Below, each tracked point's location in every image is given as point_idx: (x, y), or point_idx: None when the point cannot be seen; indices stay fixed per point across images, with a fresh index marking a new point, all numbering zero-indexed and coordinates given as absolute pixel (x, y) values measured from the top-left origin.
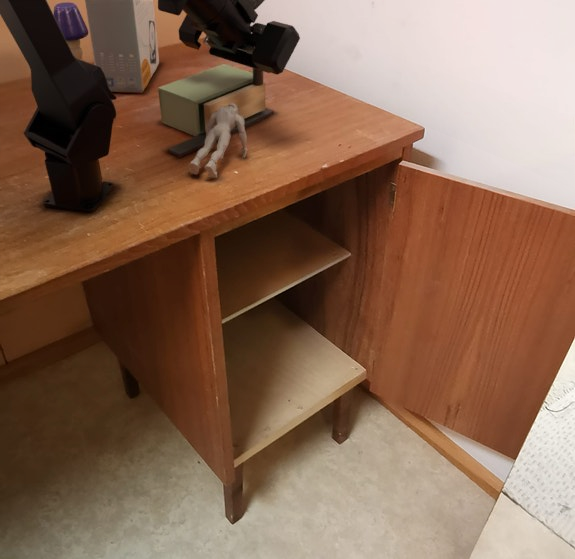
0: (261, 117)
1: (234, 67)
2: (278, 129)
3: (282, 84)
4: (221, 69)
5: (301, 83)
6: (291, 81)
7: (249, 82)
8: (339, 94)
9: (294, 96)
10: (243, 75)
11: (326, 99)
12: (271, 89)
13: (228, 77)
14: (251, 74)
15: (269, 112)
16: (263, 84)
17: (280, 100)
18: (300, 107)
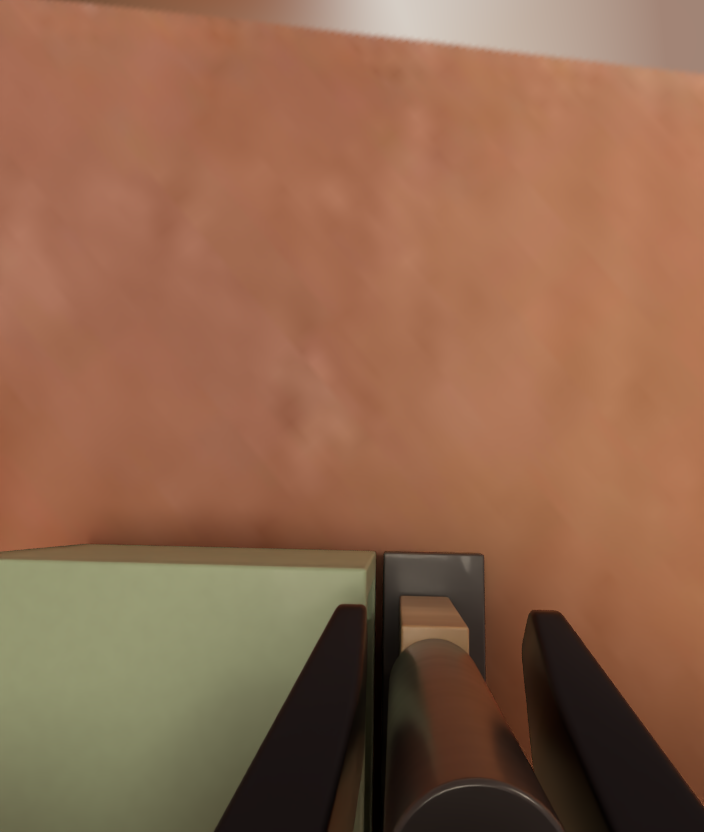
0: (485, 679)
1: (67, 575)
2: (657, 720)
3: (228, 169)
4: (7, 693)
5: (304, 86)
6: (240, 101)
7: (365, 723)
8: (578, 67)
9: (399, 261)
10: (254, 681)
11: (570, 172)
12: (226, 269)
13: (182, 816)
14: (293, 612)
15: (480, 594)
16: (467, 651)
17: (374, 363)
18: (534, 365)
